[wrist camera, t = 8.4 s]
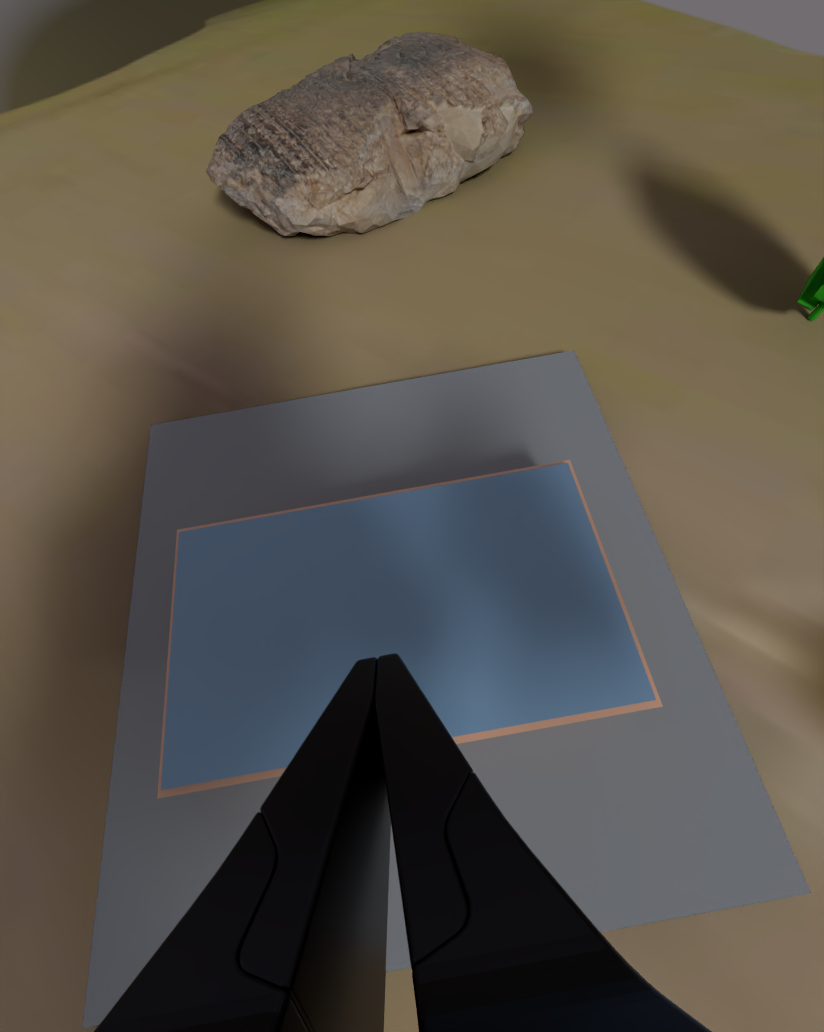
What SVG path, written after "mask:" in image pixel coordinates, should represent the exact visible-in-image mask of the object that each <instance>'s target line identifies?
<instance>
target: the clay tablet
mask: <svg viewBox="0 0 824 1032" xmlns="http://www.w3.org/2000/svg"><path fill="white" fill-rule="evenodd" d="M532 113H533V111H532V106H531V103H530V102H529V101H528V100H527V98H526V97H525V96H524V95H523V94H522V93H520V92H519V91H518V88H517V87H516V84H515V79H514V77H513V75H512V73H511V71H510V69H509V67H508V65H507V64H506V62H505V61H504V60H503V59H502V57H500V56H497V55H494V54H491V53H487V52H483V51H481V50H479V49H477V48H474V47H472V46H470V45H468V44H465V43H462V42H460V41H458V38H456V37H453V36H448V35H443V34H437V33H428V32H417V33H405V34H404V35H402V36H401V37H394V38H392V39H389V40H388V41H386V42H385V43H383V44H382V45H381V46H379V48H378V50H376V51H375V52H374V53H372V54H370V55H366V56H365V57H364V58H363V59H362V60H356V59H355V57H354V55H353V53H352V54H351V55H349V56H347V57H341V58H339V59H337V60H335V61H334V63H331V64H328V65H325V66H323V67H322V68H320V69H318V70H317V71H315V72H314V73H311V74H309V75H307V76H306V78H304V79H303V80H301V81H300V82H299V83H298V84H296V85H293V86H292V87H291V88H290V89H287V90H281V92H278V93H277V94H276V95H274V96H273V97H271V98H270V99H268V100H266V101H264V102H262V103H260V104H257V105H254V106H252V107H250V108H248V109H247V110H245V111H243V112H242V113H241V114H240V115H239V116H238V117H237V118H236V119H235V120H234V121H233V122H232V123H231V124H230V125H229V126H228V128H227V131H226V132H225V133H224V134H222V135H221V136H220V137H219V139H218V141H217V143H216V146H215V150H214V153H213V156H212V158H211V161H210V163H209V166H208V168H207V171H206V172H207V174H208V176H209V178H210V179H211V181H212V182H213V183H214V184H215V185H216V186H218V187H219V188H220V189H221V190H223V191H224V192H225V193H226V194H227V195H228V196H229V197H230V198H231V199H232V200H233V201H234V202H236V203H237V204H238V205H240V206H242V207H245V208H247V209H250V210H251V211H252V212H253V214H255V215H256V216H257V217H259V218H260V219H262V220H263V221H265V222H266V223H267V224H268V225H270V226H271V227H272V228H273V229H275V230H276V231H277V232H278V233H279V234H281V235H283V236H295V235H296V234H298V233H299V232H303V233H308V234H311V235H314V236H321V235H324V236H333V235H336V234H339V233H343V232H345V233H356V232H358V233H365V232H369V231H371V230H374V229H376V228H378V227H381V226H384V225H386V224H389V223H391V222H393V221H395V220H398V219H402V218H405V217H407V216H409V215H412V214H414V213H417V212H419V211H420V209H421V208H422V206H423V205H424V204H425V203H427V202H428V201H429V200H433V199H437V198H440V197H443V196H446V195H447V194H449V193H451V192H453V191H455V190H456V188H457V187H458V185H459V183H460V182H462V181H464V180H466V179H468V178H470V177H472V176H474V175H476V174H478V173H480V172H481V171H483V170H485V169H486V168H488V167H490V166H491V165H493V164H495V163H496V162H497V161H498V160H499V159H500V158H501V157H503V156H505V155H507V154H509V153H510V152H512V151H514V150H516V148H517V145H518V143H519V141H520V140H521V138H522V136H523V135H524V133H525V131H524V129H523V125H524V123H525V121H526V120H527V119H528V118H529V117H530V116H531V115H532Z"/></svg>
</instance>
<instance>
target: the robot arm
mask: <svg viewBox="0 0 824 1032" xmlns="http://www.w3.org/2000/svg"><path fill="white" fill-rule="evenodd" d="M260 811H261V812H257V813H256V815H255V816H254V818H253V819H252V821H251V822H250V824H249V825H248V827H247V828H246V830H245V831H244V833H243V834H242V836H241V837H240V839H239V840H238V842H237V843H236V844H235V846H234V847H233V849H232V850H231V852H230V853H229V855H228V856H227V858H226V859H225V860H224V862H223V863H222V865H221V866H220V868H219V869H218V871H217V872H216V873H215V875H214V876H213V877H212V879H211V880H210V881H209V883H208V884H207V885H206V887H205V888H204V889H203V891H202V892H201V893H200V895H199V896H198V897H197V899H196V900H195V901H194V903H193V904H192V905H191V907H190V908H189V909H188V911H187V912H186V913H185V915H184V916H183V917H182V919H181V920H180V921H179V922H178V924H177V925H176V926H175V928H174V929H173V930H172V932H171V933H170V934H169V935H168V937H167V938H166V939H165V941H164V942H163V943H162V944H161V946H160V947H159V948H158V950H157V951H156V952H155V953H154V955H153V956H152V957H151V959H150V960H149V961H148V963H147V964H146V965H145V966H144V968H143V969H142V970H141V972H140V973H139V974H138V975H137V977H136V978H135V979H134V981H133V982H132V983H131V985H130V986H129V987H128V988H127V990H126V991H125V992H124V994H123V995H122V996H121V997H120V999H119V1000H118V1001H117V1003H116V1004H115V1005H114V1006H113V1008H112V1009H111V1010H110V1012H109V1013H108V1014H107V1016H106V1017H105V1018H104V1019H103V1021H102V1022H101V1023H100V1025H99V1026H98V1027H97V1028H96V1029H95V1031H94V1032H384V1004H385V976H386V948H387V920H388V892H389V864H390V836H391V826H392V833H393V841H394V848H395V855H396V862H397V869H398V877H399V884H400V891H401V898H402V905H403V913H404V920H405V927H406V934H407V941H408V949H409V956H410V963H411V968H412V971H413V972H412V977H413V985H414V992H415V1000H416V1008H417V1017H418V1026H419V1032H711V1031H710V1030H709V1029H707V1028H706V1027H705V1026H703V1025H702V1024H701V1023H699V1022H698V1021H697V1020H695V1019H694V1018H693V1017H691V1016H690V1015H689V1014H687V1013H686V1012H685V1011H683V1010H682V1009H681V1008H679V1007H678V1006H677V1005H675V1004H674V1003H673V1002H672V1001H670V1000H669V999H668V998H666V997H665V996H664V995H663V994H661V993H660V992H659V991H657V990H656V989H655V988H654V987H653V986H652V985H651V984H649V983H648V982H647V981H646V980H645V979H644V978H643V977H642V976H641V975H640V974H639V973H638V972H637V971H636V970H635V969H634V968H633V967H632V966H631V965H630V964H629V963H628V962H627V961H626V960H625V959H624V958H623V957H622V956H621V955H620V954H619V953H618V952H617V951H616V950H615V948H614V947H613V946H612V945H611V944H610V943H609V942H608V941H607V939H606V938H605V937H604V936H603V935H602V934H601V933H600V931H599V930H598V929H597V928H596V927H595V925H594V924H593V923H592V922H591V921H590V920H589V918H588V917H587V916H586V915H585V914H584V912H583V911H582V910H581V909H580V908H579V906H578V905H577V904H576V903H575V902H574V901H573V899H572V898H571V897H570V896H569V895H568V893H567V892H566V891H565V890H564V889H563V887H562V886H561V885H560V884H559V883H558V882H557V880H556V879H555V878H554V877H553V876H552V874H551V873H550V872H549V871H548V870H547V868H546V867H545V866H544V865H543V864H542V863H541V861H540V860H539V859H538V858H537V857H536V855H535V854H534V853H533V852H532V851H531V849H530V848H529V847H528V846H527V844H526V843H525V842H524V841H523V839H522V838H521V837H520V836H519V834H518V833H517V832H516V831H515V829H514V828H513V827H512V825H511V824H510V823H509V822H508V820H507V819H506V818H505V816H504V815H503V813H502V812H501V811H500V809H499V808H498V806H497V805H496V803H495V802H494V801H493V799H492V798H491V796H490V795H489V793H488V792H487V790H486V789H485V787H484V786H483V784H482V783H481V781H480V780H479V778H478V777H477V775H476V774H475V773H473V769H472V768H471V766H470V765H469V763H468V761H467V760H466V758H465V757H464V755H463V754H462V752H461V751H460V749H459V747H458V746H457V744H456V743H455V741H454V740H453V738H452V737H451V735H450V734H449V732H448V730H447V729H446V727H445V726H444V724H443V723H442V721H441V720H440V718H439V716H438V715H437V713H436V712H435V710H434V709H433V707H432V706H431V704H430V702H429V701H428V699H427V698H426V696H425V695H424V693H423V692H422V690H421V689H420V687H419V685H418V684H417V682H416V681H415V679H414V678H413V676H412V675H411V673H410V671H409V670H408V668H407V667H406V665H405V664H404V662H403V661H402V659H401V658H400V656H399V655H398V654H397V653H393V654H388V655H382V656H380V657H379V658H378V659H377V658H376V657H371V658H366V659H360V660H358V661H357V662H356V663H355V664H354V666H353V667H352V669H351V670H350V672H349V673H348V675H347V676H346V678H345V679H344V681H343V683H342V684H341V686H340V687H339V689H338V690H337V692H336V693H335V695H334V696H333V698H332V699H331V701H330V702H329V704H328V705H327V707H326V708H325V710H324V711H323V713H322V714H321V716H320V717H319V719H318V721H317V722H316V724H315V725H314V727H313V728H312V730H311V731H310V733H309V734H308V736H307V737H306V739H305V740H304V742H303V743H302V745H301V746H300V748H299V749H298V751H297V752H296V754H295V756H294V757H293V759H292V760H291V762H290V763H289V765H288V766H287V768H286V769H285V771H284V772H283V774H282V775H281V777H280V778H279V780H278V781H277V783H276V784H275V786H274V787H273V789H272V791H271V792H270V794H269V795H268V797H267V798H266V800H265V801H264V803H263V804H262V806H261V807H260Z"/></svg>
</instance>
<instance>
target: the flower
mask: <svg viewBox="0 0 824 1032" xmlns="http://www.w3.org/2000/svg"><path fill="white" fill-rule="evenodd" d="M797 302H798V303H799V304H801V305H802V306H804V307H806V308H807V309H809V310H810V311H811V310H813V309H814V308H815V307H816V308H815V309H814V310H813V311H812V312H811V313H810V314H809V315H808V317H807V318H808V319H809V320H812V321H813V320H815V319H816V318H817V317H818V316H819V315H820V314H821V313H822V312H823V311H824V257H823V259H822V260H821V262H820V263H819V265H818V266H817V267H816V269H815V270H814V272H813V273H812V275H811V276H810V277H809V279H808V281H807V283H806V285H805V287H804V289H803V290H802V292H801V294H800V296H799V298H798V300H797ZM818 304H819V305H818ZM817 305H818V306H817Z"/></svg>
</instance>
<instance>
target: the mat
mask: <svg viewBox="0 0 824 1032" xmlns="http://www.w3.org/2000/svg"><path fill="white" fill-rule="evenodd" d="M566 460H570V461H571V464H572V466H573V469H574V472H575V474H576V477H577V480H578V482H579V485H580V488H581V490H582V493H583V496H584V498H585V501H586V503H587V506H588V509H589V511H590V514H591V517H592V519H593V522H594V525H595V527H596V530H597V533H598V535H599V538H600V541H601V543H602V546H603V549H604V551H605V554H606V557H607V559H608V562H609V565H610V567H611V570H612V573H613V575H614V578H615V580H616V583H617V586H618V588H619V591H620V594H621V596H622V599H623V602H624V604H625V607H626V610H627V612H628V615H629V618H630V620H631V623H632V626H633V628H634V631H635V634H636V636H637V639H638V642H639V644H640V647H641V650H642V652H643V655H644V657H645V660H646V663H647V665H648V668H649V671H650V673H651V676H652V679H653V681H654V684H655V687H656V689H657V692H658V695H659V697H660V700H661V703H662V705H663V707H658V708H652V709H647V710H641V711H636V712H630V713H625V714H619V715H614V716H608V717H603V718H597V719H592V720H586V721H581V722H575V723H570V724H564V725H559V726H553V727H548V728H542V729H537V730H531V731H526V732H520V733H515V734H509V735H504V736H498V737H493V738H487V739H482V740H476V741H471V742H465V743H460V744H457V746H458V747H459V749H460V751H461V752H462V754H463V755H464V757H465V758H466V760H467V761H468V763H469V765H470V766H471V768H472V769H473V773H475V774H476V775H477V777H478V778H479V780H480V781H481V783H482V784H483V786H484V787H485V789H486V790H487V792H488V793H489V795H490V796H491V798H492V799H493V801H494V802H495V803H496V805H497V806H498V808H499V809H500V811H501V812H502V813H503V815H504V816H505V818H506V819H507V820H508V822H509V823H510V824H511V825H512V827H513V828H514V829H515V831H516V832H517V833H518V834H519V836H520V837H521V838H522V839H523V841H524V842H525V843H526V844H527V846H528V847H529V848H530V849H531V851H532V852H533V853H534V854H535V855H536V857H537V858H538V859H539V860H540V861H541V863H542V864H543V865H544V866H545V867H546V868H547V870H548V871H549V872H550V873H551V874H552V876H553V877H554V878H555V879H556V880H557V882H558V883H559V884H560V885H561V886H562V887H563V889H564V890H565V891H566V892H567V893H568V895H569V896H570V897H571V898H572V899H573V901H574V902H575V903H576V904H577V905H578V906H579V908H580V909H581V910H582V911H583V912H584V914H585V915H586V916H587V917H588V918H589V920H590V921H591V922H592V923H593V924H594V925H595V927H596V928H597V929H598V930H599V931H600V932H604V931H609V930H615V929H620V928H626V927H631V926H636V925H642V924H647V923H653V922H658V921H663V920H669V919H674V918H679V917H685V916H690V915H696V914H701V913H706V912H712V911H717V910H723V909H728V908H733V907H739V906H744V905H750V904H755V903H760V902H766V901H771V900H776V899H782V898H787V897H793V896H798V895H803V894H809V893H811V892H810V889H809V887H808V885H807V883H806V880H805V878H804V876H803V873H802V871H801V869H800V867H799V864H798V862H797V860H796V857H795V855H794V853H793V851H792V848H791V846H790V844H789V841H788V839H787V837H786V835H785V832H784V830H783V828H782V825H781V823H780V821H779V819H778V816H777V814H776V812H775V809H774V807H773V805H772V802H771V800H770V798H769V796H768V793H767V791H766V789H765V786H764V784H763V782H762V780H761V777H760V775H759V773H758V770H757V768H756V766H755V764H754V761H753V759H752V757H751V754H750V752H749V750H748V748H747V745H746V743H745V741H744V738H743V736H742V734H741V731H740V729H739V727H738V725H737V722H736V720H735V718H734V715H733V713H732V711H731V709H730V706H729V704H728V702H727V699H726V697H725V695H724V693H723V690H722V688H721V686H720V683H719V681H718V679H717V677H716V674H715V672H714V670H713V667H712V665H711V663H710V661H709V658H708V656H707V654H706V651H705V649H704V647H703V644H702V642H701V640H700V638H699V635H698V633H697V631H696V628H695V626H694V624H693V622H692V619H691V617H690V615H689V612H688V610H687V608H686V606H685V603H684V601H683V599H682V596H681V594H680V592H679V590H678V587H677V585H676V583H675V580H674V578H673V576H672V573H671V571H670V569H669V567H668V564H667V562H666V560H665V557H664V555H663V553H662V551H661V548H660V546H659V544H658V541H657V539H656V537H655V535H654V532H653V530H652V528H651V525H650V523H649V521H648V519H647V516H646V514H645V512H644V509H643V507H642V505H641V503H640V500H639V498H638V496H637V493H636V491H635V489H634V486H633V484H632V482H631V480H630V477H629V475H628V473H627V470H626V468H625V466H624V464H623V461H622V459H621V457H620V454H619V452H618V450H617V448H616V445H615V443H614V441H613V438H612V436H611V434H610V432H609V429H608V427H607V425H606V422H605V420H604V418H603V415H602V413H601V411H600V409H599V406H598V404H597V402H596V399H595V397H594V395H593V393H592V390H591V388H590V386H589V383H588V381H587V379H586V377H585V374H584V372H583V370H582V367H581V365H580V363H579V361H578V358H577V356H576V354H575V351H574V350H573V351H568V352H562V353H556V354H551V355H545V356H539V357H534V358H528V359H522V360H517V361H511V362H505V363H500V364H494V365H488V366H483V367H477V368H471V369H466V370H460V371H454V372H449V373H443V374H437V375H432V376H426V377H420V378H415V379H409V380H403V381H398V382H392V383H386V384H381V385H375V386H369V387H364V388H358V389H352V390H347V391H341V392H335V393H330V394H324V395H318V396H313V397H307V398H301V399H296V400H290V401H284V402H279V403H273V404H267V405H262V406H256V407H250V408H245V409H239V410H233V411H228V412H222V413H216V414H211V415H205V416H199V417H194V418H188V419H182V420H177V421H171V422H165V423H160V424H154V425H151V429H150V438H149V446H148V455H147V464H146V473H145V482H144V490H143V499H142V508H141V517H140V525H139V534H138V543H137V552H136V560H135V569H134V578H133V587H132V595H131V604H130V613H129V622H128V631H127V639H126V648H125V657H124V666H123V674H122V683H121V692H120V701H119V709H118V718H117V727H116V736H115V745H114V753H113V762H112V771H111V780H110V788H109V797H108V806H107V815H106V823H105V832H104V841H103V850H102V858H101V867H100V876H99V885H98V894H97V902H96V911H95V920H94V929H93V937H92V946H91V955H90V964H89V972H88V981H87V990H86V999H85V1007H84V1016H83V1025H82V1028H87V1027H92V1026H97V1025H100V1023H101V1022H102V1021H103V1019H104V1018H105V1017H106V1016H107V1014H108V1013H109V1012H110V1010H111V1009H112V1008H113V1006H114V1005H115V1004H116V1003H117V1001H118V1000H119V999H120V997H121V996H122V995H123V994H124V992H125V991H126V990H127V988H128V987H129V986H130V985H131V983H132V982H133V981H134V979H135V978H136V977H137V975H138V974H139V973H140V972H141V970H142V969H143V968H144V966H145V965H146V964H147V963H148V961H149V960H150V959H151V957H152V956H153V955H154V953H155V952H156V951H157V950H158V948H159V947H160V946H161V944H162V943H163V942H164V941H165V939H166V938H167V937H168V935H169V934H170V933H171V932H172V930H173V929H174V928H175V926H176V925H177V924H178V922H179V921H180V920H181V919H182V917H183V916H184V915H185V913H186V912H187V911H188V909H189V908H190V907H191V905H192V904H193V903H194V901H195V900H196V899H197V897H198V896H199V895H200V893H201V892H202V891H203V889H204V888H205V887H206V885H207V884H208V883H209V881H210V880H211V879H212V877H213V876H214V875H215V873H216V872H217V871H218V869H219V868H220V866H221V865H222V863H223V862H224V860H225V859H226V858H227V856H228V855H229V853H230V852H231V850H232V849H233V847H234V846H235V844H236V843H237V842H238V840H239V839H240V837H241V836H242V834H243V833H244V831H245V830H246V828H247V827H248V825H249V824H250V822H251V821H252V819H253V818H254V816H255V815H256V813H257V812H261V811H260V807H261V806H262V804H263V803H264V801H265V800H266V798H267V797H268V795H269V794H270V792H271V791H272V789H273V787H274V786H275V784H276V783H277V781H278V780H279V778H280V777H281V776H279V777H273V778H268V779H262V780H257V781H251V782H246V783H240V784H235V785H229V786H224V787H218V788H213V789H208V790H202V791H197V792H191V793H186V794H180V795H175V796H169V797H164V798H158V799H157V795H158V781H159V767H160V754H161V740H162V726H163V713H164V699H165V686H166V672H167V658H168V645H169V631H170V617H171V604H172V590H173V577H174V563H175V549H176V536H177V530H179V529H184V528H190V527H195V526H201V525H207V524H212V523H218V522H224V521H229V520H235V519H240V518H246V517H252V516H257V515H263V514H268V513H274V512H280V511H285V510H291V509H296V508H302V507H308V506H313V505H319V504H325V503H330V502H336V501H341V500H347V499H353V498H358V497H364V496H369V495H375V494H381V493H386V492H392V491H398V490H403V489H409V488H414V487H420V486H426V485H431V484H437V483H442V482H448V481H454V480H459V479H465V478H470V477H476V476H482V475H487V474H493V473H499V472H504V471H510V470H515V469H521V468H527V467H532V466H538V465H543V464H549V463H555V462H560V461H566ZM410 967H411V963H410V956H409V949H408V941H407V934H406V927H405V920H404V913H403V905H402V898H401V891H400V884H399V877H398V869H397V862H396V855H395V848H394V841H393V833H392V826H391V836H390V864H389V892H388V920H387V948H386V972H388V971H394V970H399V969H405V968H410Z"/></svg>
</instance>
